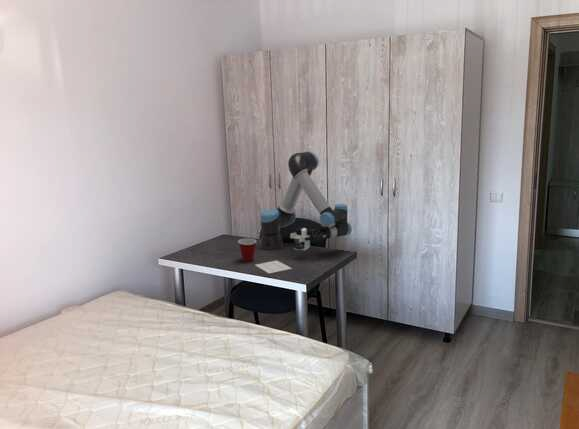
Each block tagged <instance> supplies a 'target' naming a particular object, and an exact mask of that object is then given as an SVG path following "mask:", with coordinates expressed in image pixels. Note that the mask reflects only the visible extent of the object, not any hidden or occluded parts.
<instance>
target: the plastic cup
mask: <svg viewBox="0 0 579 429" xmlns="http://www.w3.org/2000/svg"><path fill="white" fill-rule="evenodd" d="M237 243H238V245H239V248H240V253H241V257H242V260H243V262H246V263H247V262H248V263H250V262H253V261H254V256H255V248H256V243H257V240H256V239H254V238H242V239H241V238H240V239H238V240H237Z"/></svg>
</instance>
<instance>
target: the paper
mask: <svg viewBox="0 0 579 429" xmlns="http://www.w3.org/2000/svg"><path fill="white" fill-rule="evenodd" d="M254 266H255V267H256V268H258V269H260V270H262V271H263V272H265V273H266V274H274V273H279V272H283V271H287V270H288V271H289V270H292V267H290V266H288V265H286V264H285V263H282V262H281V261H279V260H277V259H275V260H272V261H267V262H262V263H257V264H254Z"/></svg>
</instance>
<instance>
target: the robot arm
mask: <svg viewBox="0 0 579 429" xmlns="http://www.w3.org/2000/svg"><path fill="white" fill-rule="evenodd" d="M319 162H320V160H319V158H318V155H317V154H316V153H315V152H313V151H308V150H307V151H303V152H296V153H293V154H292V155H291V156H290V157H289V158H288V161H287V165H288V166H287V167H288V170H289V172H290V174H291V176H292V177H291V180H290V182H289V185H288V188H287V191H286V192H285V195H284V197H283V200H282V202H281V203H279V204H278V206H277V209H274V208H271V209H266V210H264V211H262V212H261V213H260V229H261V238H260V242H259V248H260V250H263V251H265V250H266V251H272V250H273V251H274V250H279V249H282V248H283V247H284V242H283V239H282V237H281V233H280V232H281V230H280V229H281V228H285V227H288V226H291V225H292V224H293V223H294V222H296V219H297V218H296V217H297V216H296V209H295V207H296V205H297V202H298V200H299V198H300V196H301V193H302V190H303V191H304V193H305V194H306V195H307V197H308V199H309V200H310V201H311V203H312V205H313V206H314V208H315V209H316V211H317V213H319V215H320V218H319V220H320V223H321V224H322V225H323V226H321V227H320V228H319V229H307V235H306V236H304V237H299V242H304V241H310V242H311V241H312V242H316V241H317V242H318V241H320V240H327V239H328V240H329V239H333V238H339V237H346V236H348V235H350V234H351V233H352V225H351V223H350V222H348V205H347V203H346V204H345V203H336V204H334V209H333V208H332V207H331V205H330V204H329V202H328V200H326V198H325V197H324V195H323V194H322V192H321V190H320V189H319V188H318V186H317V185H316V183H315V181H314V179H313V178H312V177H311V175H312V173H313V171H314V170H316V169H317V168H318V167H319ZM289 236H290V239H294V237H296V232H292V233H290V235H289Z"/></svg>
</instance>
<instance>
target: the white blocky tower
mask: <svg viewBox="0 0 579 429" xmlns="http://www.w3.org/2000/svg"><path fill="white" fill-rule="evenodd" d="M307 230H308V229H307V228H306V227H298V228H296V229H295V231H296V232H295V233H296V237H294V238H293V249H294V250H296V251H306V250H308V249H310V248H311V241H304V242H299V237H304V236H306V235H307Z"/></svg>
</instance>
